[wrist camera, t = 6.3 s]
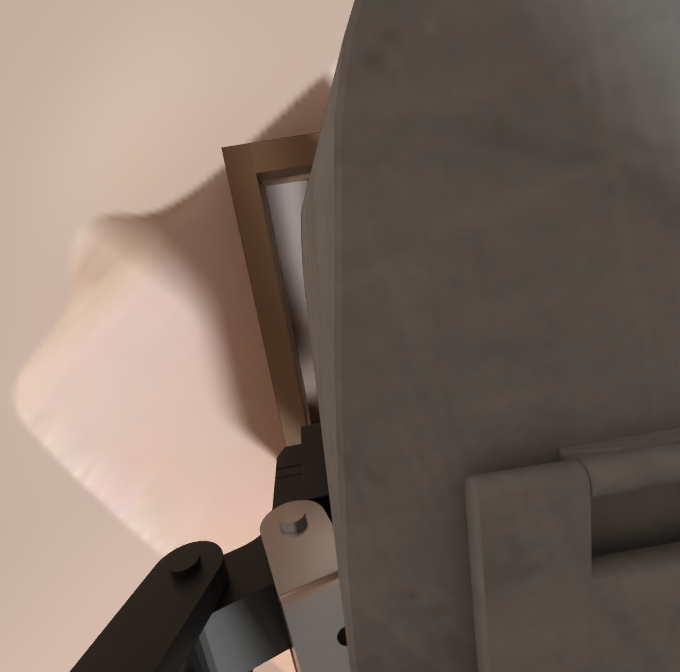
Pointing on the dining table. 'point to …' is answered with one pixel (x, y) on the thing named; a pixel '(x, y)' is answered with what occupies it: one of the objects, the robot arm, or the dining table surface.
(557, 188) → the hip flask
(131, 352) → the dining table surface
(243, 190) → the wooden open tray
